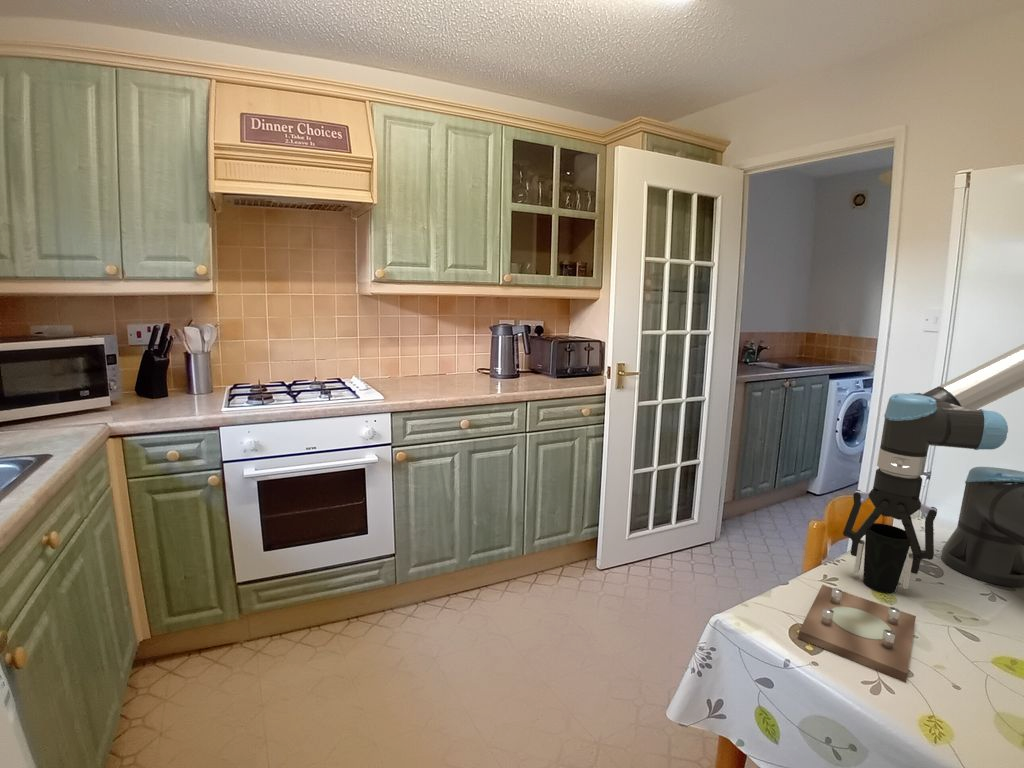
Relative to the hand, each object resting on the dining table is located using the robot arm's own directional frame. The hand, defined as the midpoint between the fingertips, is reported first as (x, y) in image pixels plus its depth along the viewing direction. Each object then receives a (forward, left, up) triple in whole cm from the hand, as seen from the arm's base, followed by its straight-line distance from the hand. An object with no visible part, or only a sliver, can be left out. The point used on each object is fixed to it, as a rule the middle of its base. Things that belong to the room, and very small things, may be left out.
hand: (880, 578), depth 109 cm
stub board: (+1, +21, -2) cm, 21 cm away
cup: (0, 0, -2) cm, 2 cm away
